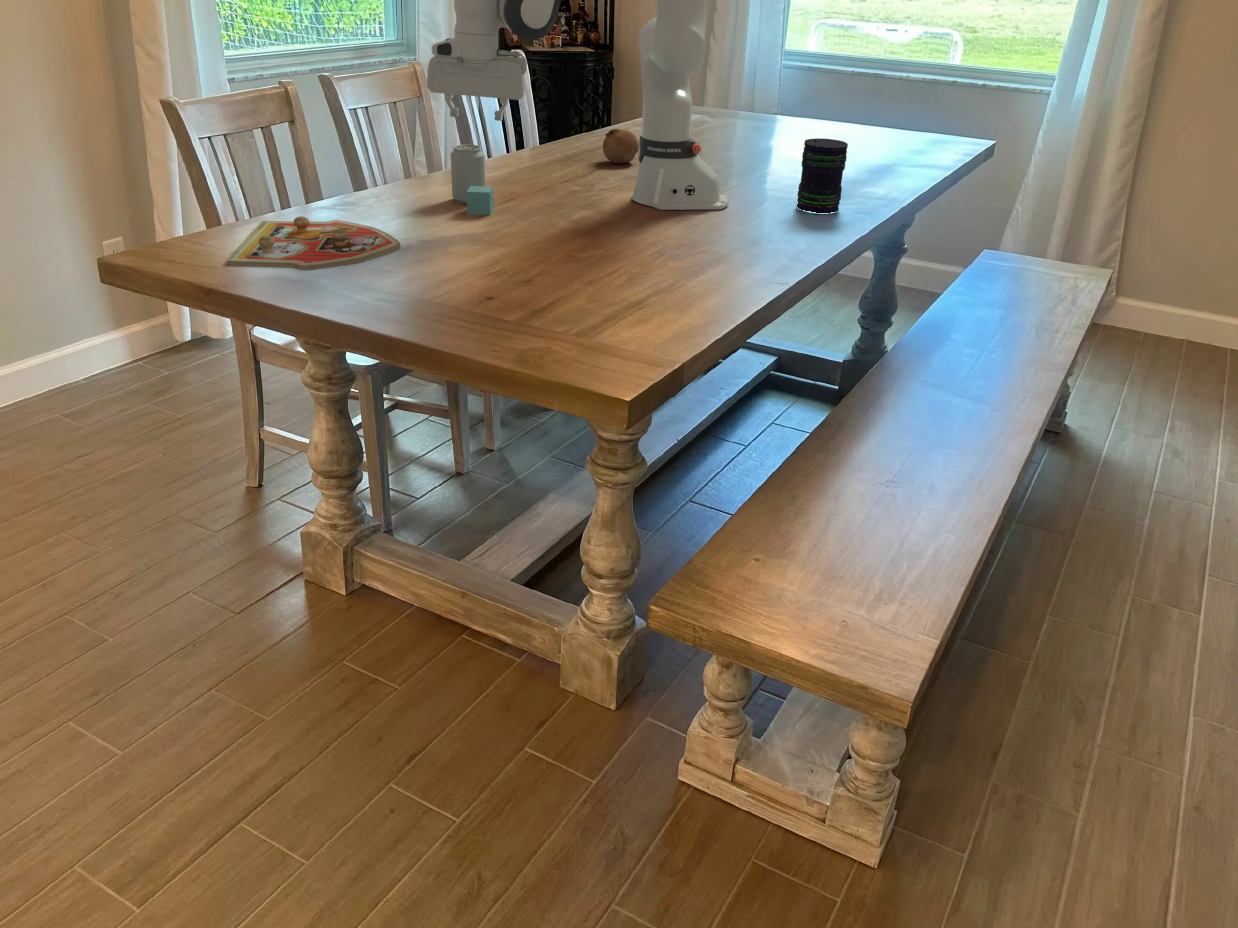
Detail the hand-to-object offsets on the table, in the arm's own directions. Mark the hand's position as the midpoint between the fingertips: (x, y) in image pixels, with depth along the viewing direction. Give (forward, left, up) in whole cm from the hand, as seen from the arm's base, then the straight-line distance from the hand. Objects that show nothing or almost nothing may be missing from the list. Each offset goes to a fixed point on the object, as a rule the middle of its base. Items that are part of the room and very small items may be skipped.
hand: (476, 118), depth 210 cm
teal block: (0, +1, -20) cm, 20 cm away
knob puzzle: (+26, +31, -20) cm, 45 cm away
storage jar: (-76, -14, -20) cm, 80 cm away
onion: (-29, -54, -20) cm, 65 cm away
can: (+4, -8, -20) cm, 22 cm away
